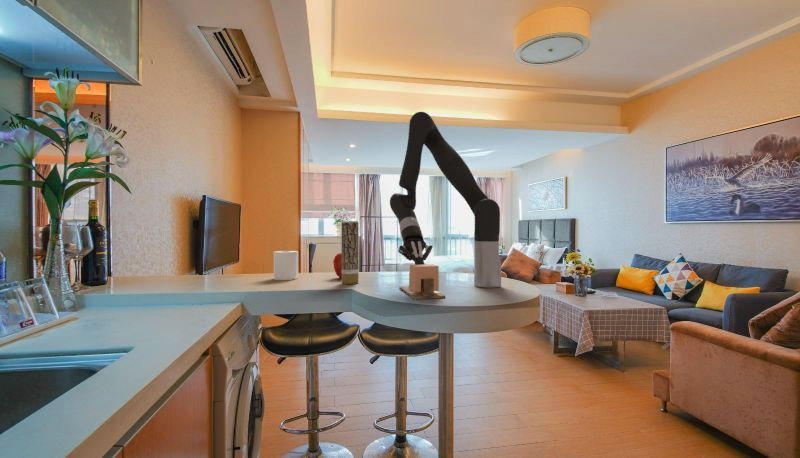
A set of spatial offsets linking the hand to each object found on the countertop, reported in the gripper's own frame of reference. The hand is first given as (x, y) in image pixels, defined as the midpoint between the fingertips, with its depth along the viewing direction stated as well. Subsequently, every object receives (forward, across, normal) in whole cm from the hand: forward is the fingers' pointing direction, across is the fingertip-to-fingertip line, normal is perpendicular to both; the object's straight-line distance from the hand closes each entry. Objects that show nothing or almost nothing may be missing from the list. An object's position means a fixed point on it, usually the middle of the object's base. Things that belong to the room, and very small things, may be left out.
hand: (420, 268), depth 120 cm
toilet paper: (-28, -47, +40) cm, 68 cm away
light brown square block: (+8, 0, +2) cm, 8 cm away
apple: (-25, -22, +38) cm, 50 cm away
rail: (+6, 0, +6) cm, 9 cm away
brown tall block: (-14, -21, +26) cm, 36 cm away
